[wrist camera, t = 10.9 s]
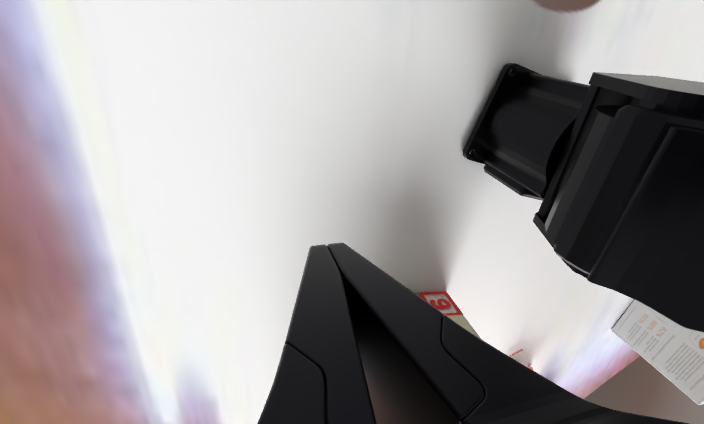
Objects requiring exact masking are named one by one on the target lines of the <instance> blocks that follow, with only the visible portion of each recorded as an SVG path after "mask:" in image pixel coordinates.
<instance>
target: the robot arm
mask: <svg viewBox="0 0 704 424" xmlns="http://www.w3.org/2000/svg"><path fill="white" fill-rule="evenodd" d="M511 69H512V72H511V74H510V75H509V71H510V70H511ZM589 84H590V85H585V84H580V83H576V82H571V81H567V80H562V79H558V78H553V77H548V76H544V75H541V74H538V73H536V72H534V71H532V70H529V69H527V68H525V67H523V66H520V65H518V64H515V63H508V64H506V65H505V66H504V68H503V69H502V71H501V73H500V75H499V77H498V80H497V82H496V84H495V86H494V88H493V90H492V92H491V94H490V96H489V98H488V100H487V102H486V104H485V107H484V109H483V111H482V113H481V115H480V117H479V119H478V121H477V123H476V125H475V127H474V129H473V131H472V134H471V136H470V138H469V140H468V142H467V144H466V146H465V148H464V150H463V156H464V157H465V158H467V159H469V160H472V161H475V162H479V163H483V164H485V166H484V170H485V172H486V173H488V174H489V175H491V176H492V177H494V178H495V179H497V180H498V181H500V182H501V183H503V184H504V185H506V186H507V187H509V188H510V189H512V190H513V191H515V192H516V193H518V194H519V195H521V196H525V197H530V198H534V199H538V200H543V202H542V204H541V206H540V209H539V211H538V212H537V213H536V214H535V217H534V219H533V222H534V223H535V225H536V226H537V227H538V229H539V230H540V231H541V232H542V234H543V235H544V236H545V238H546V239H547V240H548V242H549V243H550V244H551V246H552V247H553V248H554V251H555V252H556V254H557V255H558V256H559V257H561V259H562V260H563V261H564V262H565V263H566V264H567V265H568V266H569V267H570V268H571V269H572V270H573V271H574V272H576V273H578V274H580V275H582V276H584V277H586V278H587V280H588V281H590V282H592V283H594V284H597V285H600V286H603V287H606V288H609V289H612V290H615V291H617V292H620V293H622V294H624V295H626V296H629V297H631V298H633V299H635V300H637V301H639V302H641V303H643V304H644V305H646V306H648V307H650V308H652V309H653V310H655V311H657V312H658V313H660V314H662V315H663V316H665V317H667V318H668V319H670V320H672V321H674V322H675V323H677V324H679V325H680V326H682V327H684V328H687V329H691V330H696V331H700V332H704V83H702V82H695V81H687V80H680V79H673V78H666V77H659V76H644V75H629V74H613V73H597V72H593V74H592V76H591V79H590V81H589ZM471 150H472V153H471V154H469V153H470V151H471ZM258 424H688V423H683V422H677V421H672V420H666V419H660V418H655V417H649V416H643V415H637V414H632V413H626V412H621V411H616V410H612V409H609V408H605V407H601V406H599V405H596V404H594V403H591V402H588V401H586V400H584V399H582V398H580V397H578V396H576V395H574V394H572V393H570V392H568V391H567V390H565V389H563V388H561V387H560V386H558V385H556V384H555V383H553V382H551V381H550V380H548V379H546V378H545V377H543V376H541V375H539V374H538V373H536V372H534V371H533V370H531V369H529V368H528V367H526V366H524V365H523V364H521V363H519V362H517V361H516V360H514V359H512V358H511V357H509V356H507V355H506V354H504V353H502V352H501V351H499V350H497V349H496V348H494V347H493V346H491V345H489V344H488V343H486V342H484V341H483V340H481V339H480V338H478V337H477V336H475V335H474V334H472V333H471V332H469V331H468V330H466V329H465V328H463V327H462V326H460V325H459V324H457V323H456V322H455V321H453V320H452V319H450V318H449V317H447V316H446V315H443V314H442V312H440V311H439V310H437V309H436V308H435V307H433V306H432V305H430V304H429V303H427V302H426V301H425V300H423V299H422V298H420V297H419V296H418V295H416V294H415V293H413V292H412V291H411V290H409V289H408V288H406V287H405V286H403V285H402V284H401V283H399V282H398V281H396V280H395V279H394V278H392V277H391V276H389V275H388V274H386V273H385V272H384V271H382V270H381V269H379V268H378V267H377V266H375V265H374V264H372V263H371V262H370V261H368V260H367V259H365V258H364V257H362V256H361V255H360V254H358V253H357V252H355V251H354V250H353V249H351V248H350V247H348V246H347V245H345V244H344V243H334V244H328V245H327V246H326V245H316V246H311V247H310V249H309V253H308V257H307V261H306V265H305V268H304V272H303V276H302V280H301V284H300V288H299V291H298V295H297V299H296V303H295V307H294V311H293V314H292V318H291V322H290V326H289V330H288V334H287V337H286V341H285V345H284V348H283V352H282V356H281V359H280V363H279V366H278V369H277V373H276V376H275V379H274V382H273V385H272V388H271V391H270V393H269V396H268V399H267V401H266V404H265V406H264V409H263V412H262V414H261V416H260V419H259V421H258Z"/></svg>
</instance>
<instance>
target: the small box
mask: <svg viewBox="0 0 704 424" xmlns="http://www.w3.org/2000/svg"><path fill="white" fill-rule="evenodd" d="M612 332H614V333H615V334H616V335H617V336H618V337H619V338H621V339H622V340H623V341H624V342H625V343H626V344H628V345H629V346H630V347H631V348H632V349H633V350H635V351H636V352H637V353H638V354H639V355H641V356H642V357H643V358H644V359H645V360H647V361H648V362H649V363H650V364H651V365H652V366H653V367H655V368H656V369H657V370H658V371H659V372H661V373H662V374H663V375H664V376H665V377H666V378H667V379H668V380H670V381H671V382H672V383H673V384H674V385H676V386H677V387H678V388H679V389H680V390H681V391H683V392H684V393H685V394H686V395H687V396H689V397H690V398H691V399H692V400H693V401H694V402H696V403H697V404H698V405H701V404H704V332H700V331H696V330H691V329H687V328H684V327H682V326H680V325H679V324H677V323H675V322H674V321H672V320H670V319H668V318H667V317H665V316H663V315H662V314H660V313H658V312H657V311H655V310H653V309H652V308H650V307H648V306H646V305H644V304H643V303H641V302H639V301H637V300H634V301H633V302H632V304H631V305H630V306H629V307H628V309H627V310H626V311H625V313H624V314H623V315H622V317H621V318H620V319H619V321H618V322H617V323H616V325H615V326H614V327H613V329H612Z"/></svg>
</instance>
